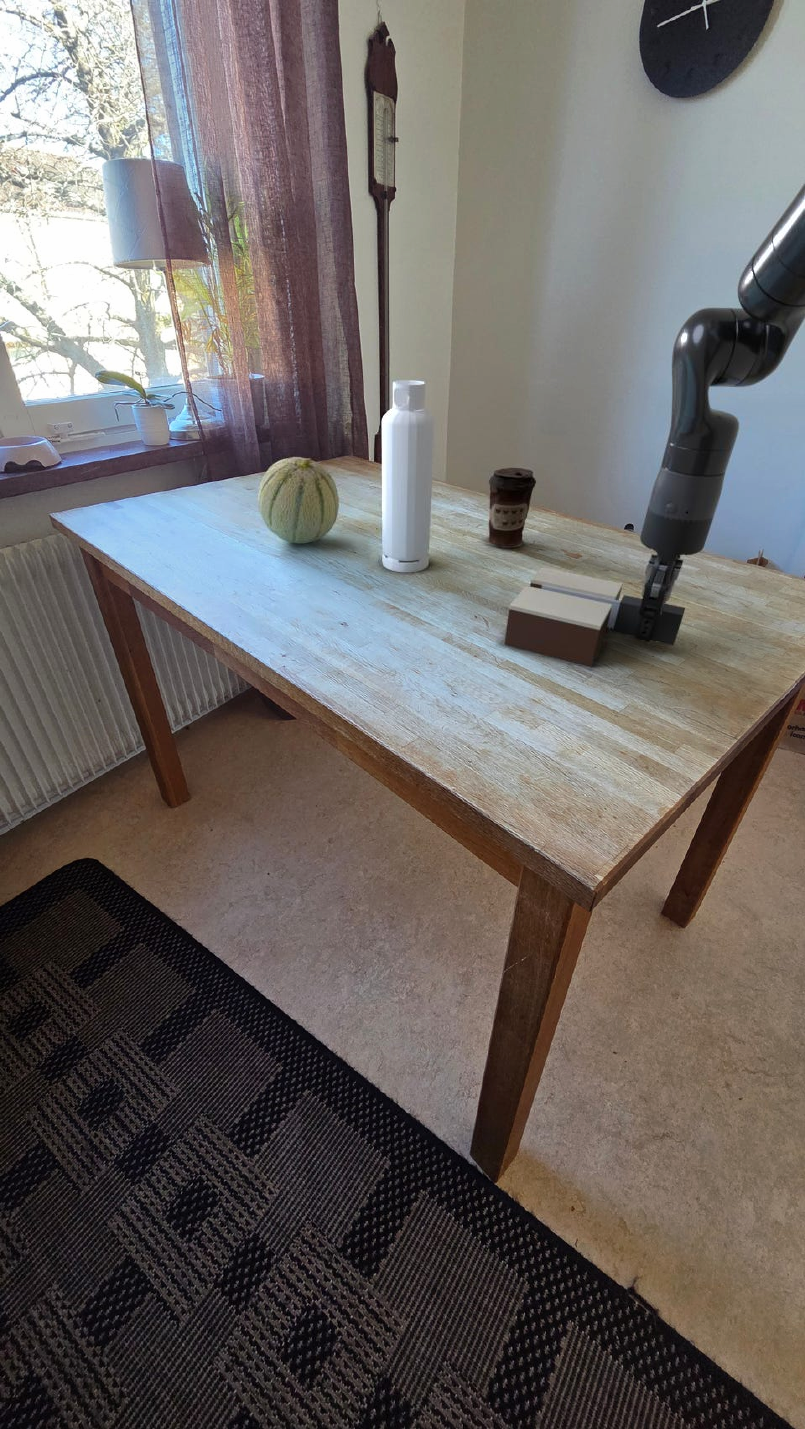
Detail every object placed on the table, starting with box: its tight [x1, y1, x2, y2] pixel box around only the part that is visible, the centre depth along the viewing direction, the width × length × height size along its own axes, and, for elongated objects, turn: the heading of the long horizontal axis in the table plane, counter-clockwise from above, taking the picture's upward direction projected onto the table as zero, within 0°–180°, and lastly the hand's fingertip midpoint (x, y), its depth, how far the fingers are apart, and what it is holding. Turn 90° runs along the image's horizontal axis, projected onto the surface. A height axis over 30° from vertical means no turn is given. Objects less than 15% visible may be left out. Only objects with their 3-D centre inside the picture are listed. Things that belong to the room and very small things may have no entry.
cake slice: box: [529, 567, 623, 636], centre depth 88 cm, size 12×5×6 cm, turn 63°
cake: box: [504, 585, 612, 668], centre depth 82 cm, size 12×7×6 cm, turn 62°
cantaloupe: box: [257, 456, 340, 544], centre depth 109 cm, size 15×15×15 cm
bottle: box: [381, 379, 436, 573], centre depth 97 cm, size 8×8×28 cm
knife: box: [542, 585, 686, 646], centre depth 83 cm, size 19×3×4 cm, turn 63°
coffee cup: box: [488, 467, 537, 549], centre depth 110 cm, size 9×8×13 cm
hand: (644, 634), depth 83 cm, fingers closed on knife, 2 cm apart
